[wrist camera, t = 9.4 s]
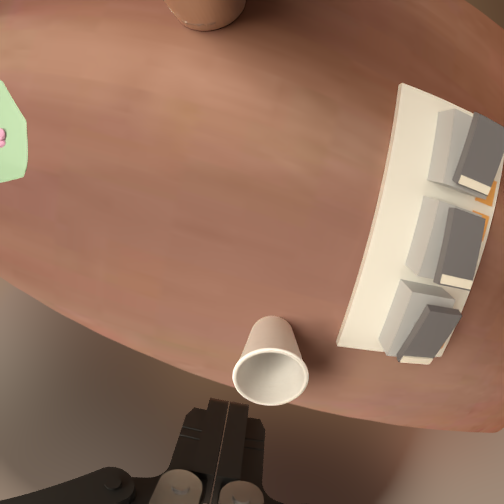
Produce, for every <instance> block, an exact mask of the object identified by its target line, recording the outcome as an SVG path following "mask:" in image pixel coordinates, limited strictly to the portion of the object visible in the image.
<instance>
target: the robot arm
mask: <svg viewBox="0 0 504 504" xmlns="http://www.w3.org/2000/svg"><path fill="white" fill-rule="evenodd" d="M163 1H164V2H165V3H166V5H167V6H168V7H169V9H170V10H171V11H172V13H173V14H174V15H175V16H176V18H177V19H178V20H179V21H180V22H181V23H182V24H183V25H184V26H186V27H187V28H190V29H193V30H199V31H210V30H215V29H219V28H221V27H224V26H226V25H228V24H230V23H231V22H233V21H234V20H235V19H236V18H237V17H238V16H239V15H240V14H241V13H242V11H243V9H244V7H245V3H246V0H163ZM227 408H228V401H224V400H219V399H214V398H210V400H209V404H208V408H207V410H203V409H199V408H194V409H192V411H190V412H189V413H188V414H187V415H186V417H185V420H184V424H183V427H182V429H181V432H180V436H179V438H178V441H177V444H176V447H175V451H174V453H173V456H172V460H171V463H170V465H169V468H168V469H167V470H166V471H165V472H164V473H163V474H161V475H159V476H156V477H152V478H137V477H131V476H130V475H129V474H128V473H127V472H125V471H124V470H122V469H119V468H116V467H106V468H102V469H100V470H97V471H95V472H92V473H89V474H87V475H84V476H81V477H78V478H76V479H73V480H70V481H67V482H64V483H61V484H58V485H55V486H52V487H49V488H46V489H42V490H39V491H36V492H32V493H29V494H25V495H22V496H18V497H14V498H10V499H6V500H2V501H0V504H203V503H207V504H209V502H210V497H211V492H212V487H213V482H214V477H215V472H216V467H217V461H218V456H219V451H220V446H221V441H222V435H223V430H224V424H225V419H226V414H227ZM248 408H249V405H248V404H241V403H236V402H230V406H229V412H228V417H227V423H226V428H225V433H224V438H223V444H222V449H221V454H220V460H219V465H218V470H217V476H216V481H215V486H214V491H213V497H212V502H211V504H283V503H280V502H278V501H275V500H273V499H272V498H270V497H269V496H268V495H267V494H266V493H265V491H264V489H263V486H262V473H263V455H264V439H265V429H264V427H263V424H262V423H261V420H260V419H254V418H247V417H248Z"/></svg>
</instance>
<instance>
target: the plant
mask: <svg viewBox="0 0 504 504" xmlns="http://www.w3.org/2000/svg"><path fill="white" fill-rule="evenodd" d="M27 163H28V138H27V124H26V120H25V118H24V117H23V115H22V114H21V112H20V110H19V109H18V107H17V105H16V104H15V102H14V100H13V99H12V97H11V95H10V94H9V92H8V90H7V88H6V87H5V85H4V83H3V82H2V81H1V80H0V183H1V182H5V181H10V180H14V179H18V178H21V177H24V174H25V172H26V169H27Z"/></svg>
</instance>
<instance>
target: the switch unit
mask: <svg viewBox="0 0 504 504" xmlns="http://www.w3.org/2000/svg"><path fill="white" fill-rule="evenodd" d="M472 118H473V113H471V112H469V111H467V110H465V109H463V108H460V107H458V106H456V105H454V104H452V103H450V102H448V101H445V100H443V99H441V98H439V97H436V96H434V95H432V94H429V93H427V92H424V91H422V90H419V89H417V88H414V87H412V86H409V85H406V84H404V83H401V84H399V86H398V94H397V101H396V108H395V114H394V121H393V127H392V133H391V138H390V144H389V149H388V155H387V160H386V165H385V170H384V174H383V179H382V184H381V188H380V193H379V197H378V201H377V206H376V210H375V214H374V218H373V222H372V226H371V230H370V234H369V237H368V241H367V245H366V248H365V252H364V256H363V259H362V263H361V266H360V270H359V273H358V276H357V280H356V283H355V286H354V289H353V292H352V296H351V299H350V302H349V305H348V308H347V311H346V314H345V317H344V320H343V323H342V326H341V329H340V331H339V334H338V337H337V340H336V343H337V346H341V347H348V348H356V349H364V350H372V351H380V352H385V353H386V355H387V356H395V357H397V356H396V354H397V353H398V351H399V350H400V348H401V346H402V345H403V343H404V342H405V340H406V339H407V337H408V335H409V334H410V332H411V330H412V329H413V327H414V326H415V324H416V322H417V320H418V319H419V317H420V315H421V314H422V312H423V310H424V308H425V307H426V305H427V304H429V305H435V306H440V307H446V308H453V309H459V311H460V313H461V312H462V310H463V307H464V305H465V302H466V300H467V297H468V295H469V292H470V291H467V290H463V289H458V288H453V287H448V286H443V285H438V284H436V283H434V282H433V280H434V276H435V272H436V268H437V264H438V260H439V255H440V251H441V246H442V242H443V237H444V232H445V226H446V221H447V215H448V209H449V207H450V208H457V209H460V210H463V211H465V212H468V213H471V214H474V215H476V216H479V217H482V218H485V219H486V220H485V226H484V232H483V237H482V242H481V247H480V252H479V257H478V261H477V266H476V270H475V274H474V278H475V275H476V272H477V269H478V266H479V263H480V260H481V257H482V254H483V250H484V247H485V244H486V240H487V237H488V233H489V229H490V225H491V221H492V217H493V213H494V209H495V204H496V200H497V195H498V190H499V185H500V179H501V174H502V168H503V161H504V154H503V157H502V159H501V162H500V165H499V168H498V171H497V173H496V176H495V178H494V181H493V184H492V186H491V189H490V191H489V194H488V196H485V195H483V194H480V193H478V192H476V191H473V190H471V189H468V188H466V187H463V186H461V185H458V184H456V183H455V182H454V181H453V180H452V178H453V176H454V173H455V170H456V167H457V165H458V162H459V159H460V156H461V153H462V150H463V147H464V144H465V141H466V138H467V135H468V131H469V128H470V125H471V121H472ZM474 278H473V281H474ZM472 284H473V282H472ZM454 329H455V328H454ZM453 331H454V330H453ZM453 331H452V333H453ZM452 333H451V334H450V336H449V337H448V339H447V340H446V341H445V343H444V344H443V346H442V347H441V349H440V350H439V351H438V353H437V354H436V356H435V357H441V356H442V354H443V352H444V350H445V348H446V346H447V344H448V342H449V340H450V337H451V335H452Z"/></svg>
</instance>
